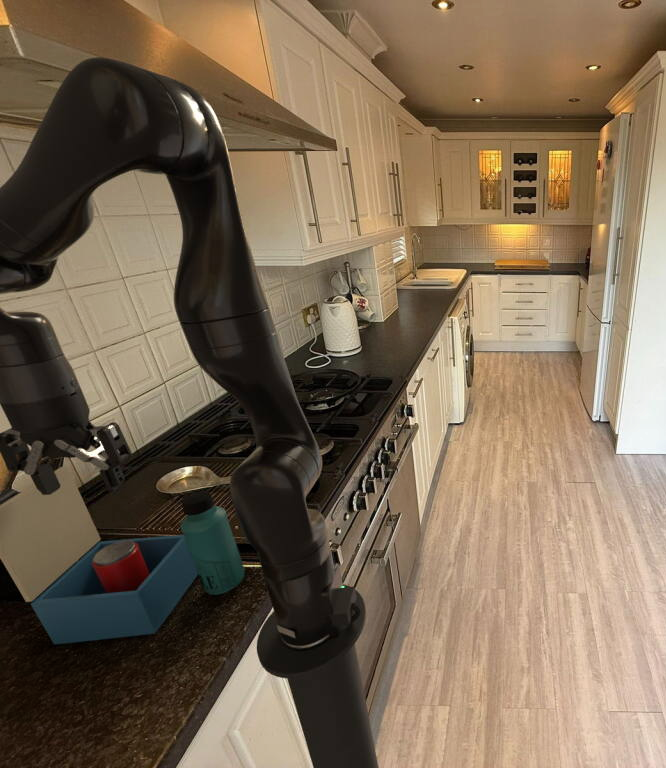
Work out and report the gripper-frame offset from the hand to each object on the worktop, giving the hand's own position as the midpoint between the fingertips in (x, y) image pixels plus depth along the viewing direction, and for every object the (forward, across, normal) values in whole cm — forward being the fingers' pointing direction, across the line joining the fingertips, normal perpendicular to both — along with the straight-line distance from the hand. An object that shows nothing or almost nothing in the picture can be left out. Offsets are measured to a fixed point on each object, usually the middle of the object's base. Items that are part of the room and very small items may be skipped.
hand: (84, 489), depth 61 cm
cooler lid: (+7, -7, 0) cm, 10 cm away
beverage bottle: (+24, +13, +2) cm, 28 cm away
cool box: (+24, -1, 0) cm, 24 cm away
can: (+23, 0, 0) cm, 23 cm away
